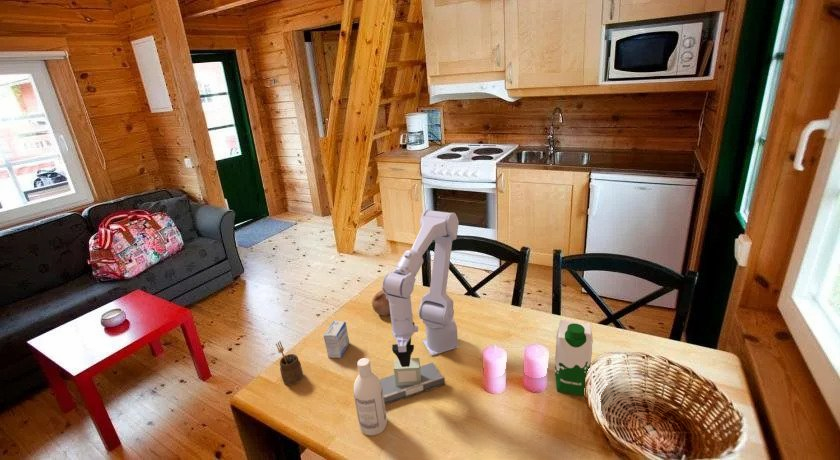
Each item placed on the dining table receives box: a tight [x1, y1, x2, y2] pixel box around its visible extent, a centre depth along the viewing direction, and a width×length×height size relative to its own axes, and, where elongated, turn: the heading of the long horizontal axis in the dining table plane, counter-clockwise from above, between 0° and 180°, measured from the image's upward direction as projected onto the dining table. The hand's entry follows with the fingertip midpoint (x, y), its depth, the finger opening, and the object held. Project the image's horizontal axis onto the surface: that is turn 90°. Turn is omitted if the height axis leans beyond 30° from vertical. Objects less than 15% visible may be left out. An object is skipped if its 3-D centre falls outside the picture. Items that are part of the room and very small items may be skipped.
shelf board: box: [379, 362, 446, 406], centre depth 114 cm, size 20×9×2 cm, turn 110°
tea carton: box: [393, 357, 421, 386], centre depth 114 cm, size 4×7×6 cm, turn 90°
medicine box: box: [323, 320, 350, 359], centre depth 130 cm, size 8×4×9 cm, turn 168°
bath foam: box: [352, 357, 388, 436], centre depth 99 cm, size 7×7×20 cm
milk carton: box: [554, 319, 594, 397], centre depth 106 cm, size 9×9×20 cm
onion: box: [371, 289, 390, 317], centre depth 148 cm, size 10×9×10 cm
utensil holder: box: [275, 341, 304, 386], centre depth 118 cm, size 6×6×12 cm
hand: (406, 356), depth 112 cm, fingers open, 7 cm apart
